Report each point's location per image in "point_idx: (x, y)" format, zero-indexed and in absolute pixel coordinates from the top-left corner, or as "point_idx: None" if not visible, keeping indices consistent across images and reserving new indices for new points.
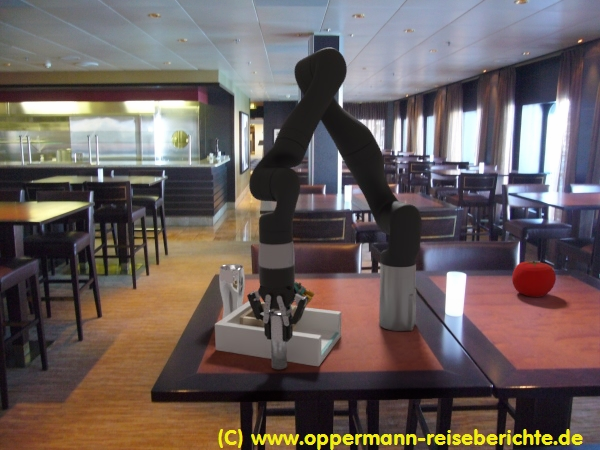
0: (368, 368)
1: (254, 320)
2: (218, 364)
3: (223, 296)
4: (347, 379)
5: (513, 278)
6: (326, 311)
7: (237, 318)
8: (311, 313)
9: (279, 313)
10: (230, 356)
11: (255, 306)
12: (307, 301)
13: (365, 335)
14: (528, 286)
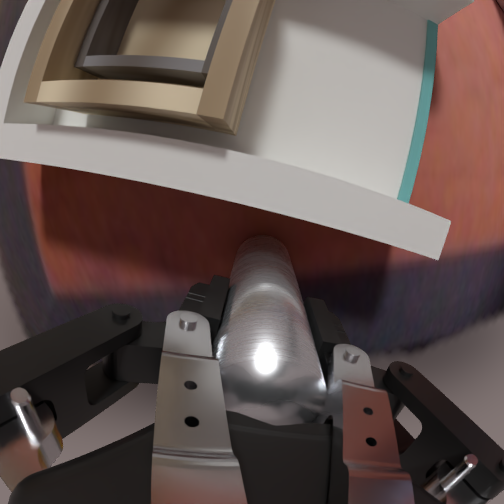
0: (493, 232)
1: (87, 102)
2: (74, 244)
3: None
4: (445, 296)
5: None
6: None
7: (41, 36)
8: None
9: (275, 406)
10: (85, 185)
11: (75, 421)
12: (499, 457)
13: (480, 29)
14: None
